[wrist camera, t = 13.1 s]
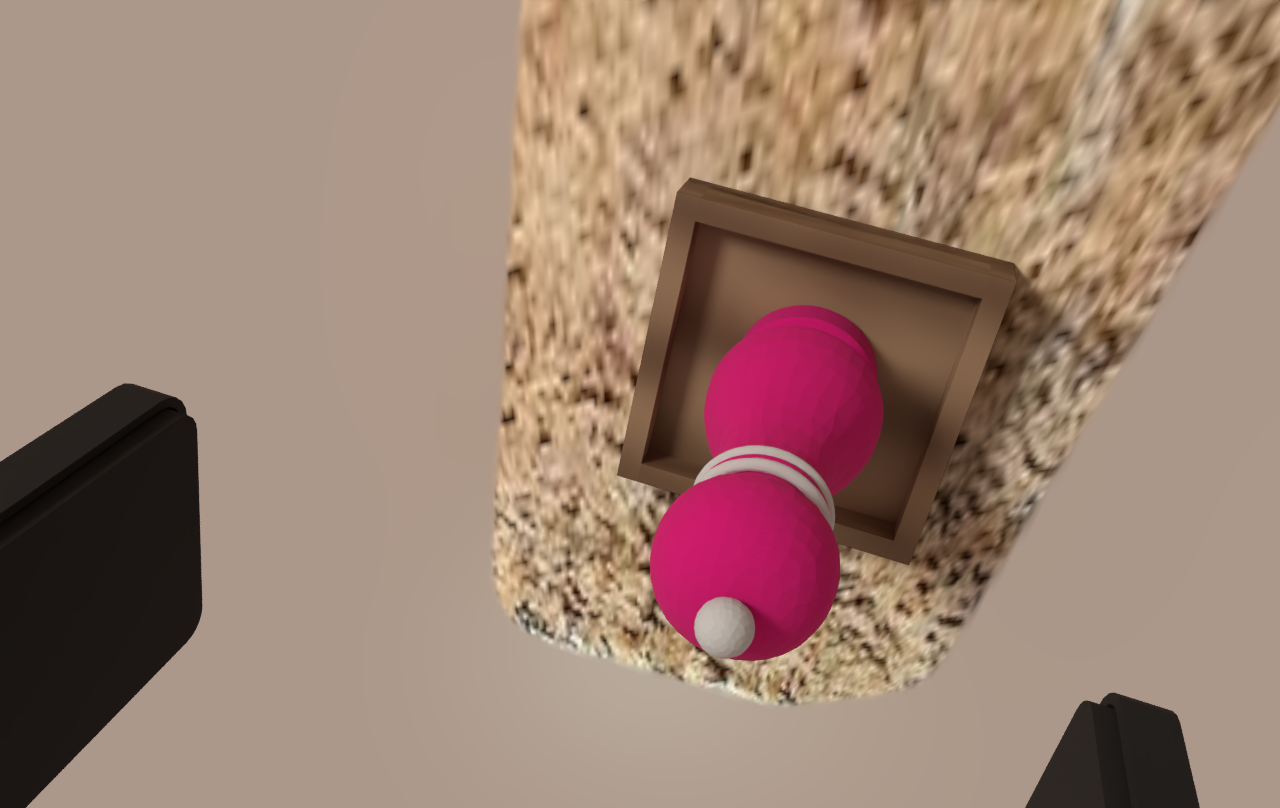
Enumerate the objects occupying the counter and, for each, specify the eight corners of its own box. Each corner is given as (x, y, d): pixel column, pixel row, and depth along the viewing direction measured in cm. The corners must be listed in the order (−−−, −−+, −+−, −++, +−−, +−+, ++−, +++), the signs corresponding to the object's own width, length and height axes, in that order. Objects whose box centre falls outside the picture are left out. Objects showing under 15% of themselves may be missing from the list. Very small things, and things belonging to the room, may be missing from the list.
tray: (690, 177, 47) (677, 192, 45) (1013, 263, 45) (1016, 282, 43) (631, 450, 54) (617, 475, 52) (911, 536, 52) (909, 565, 50)
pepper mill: (911, 320, 46) (881, 587, 29) (861, 462, 50) (807, 778, 32) (747, 272, 47) (623, 503, 30) (709, 415, 51) (577, 696, 33)
